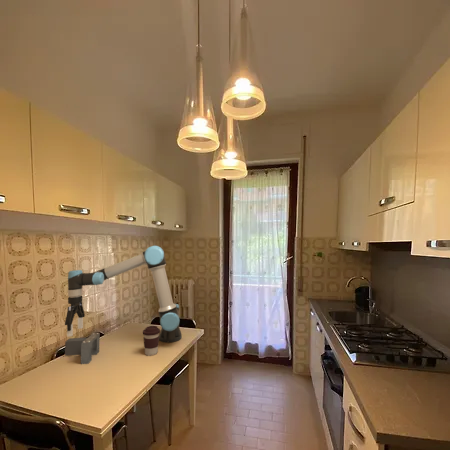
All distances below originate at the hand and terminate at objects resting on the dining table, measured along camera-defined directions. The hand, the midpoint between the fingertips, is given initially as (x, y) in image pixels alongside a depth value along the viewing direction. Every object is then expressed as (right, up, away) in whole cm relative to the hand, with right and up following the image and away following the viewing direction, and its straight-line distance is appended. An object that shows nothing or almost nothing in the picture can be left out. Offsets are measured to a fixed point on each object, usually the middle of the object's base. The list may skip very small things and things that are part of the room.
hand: (75, 332), depth 155 cm
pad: (0, -13, -1) cm, 13 cm away
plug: (+2, -12, -1) cm, 12 cm away
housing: (+12, -12, -6) cm, 18 cm away
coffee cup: (+46, -12, -1) cm, 48 cm away
